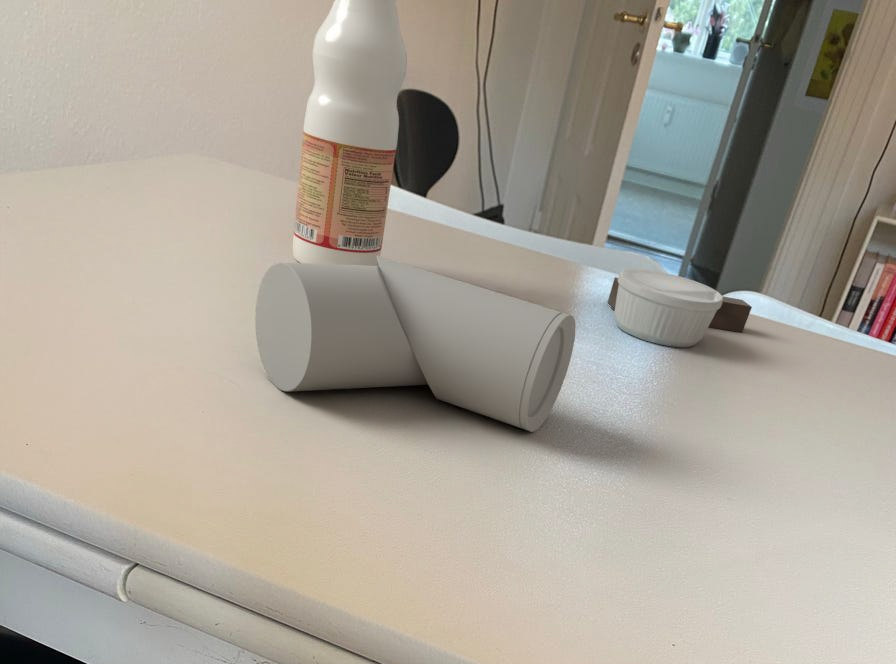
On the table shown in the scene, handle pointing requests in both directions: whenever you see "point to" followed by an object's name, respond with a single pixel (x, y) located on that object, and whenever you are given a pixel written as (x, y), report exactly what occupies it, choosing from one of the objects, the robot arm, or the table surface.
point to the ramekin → (664, 307)
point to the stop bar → (726, 316)
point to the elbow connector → (412, 337)
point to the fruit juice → (350, 135)
